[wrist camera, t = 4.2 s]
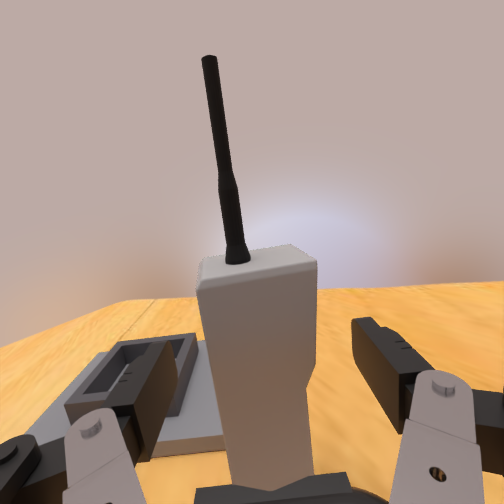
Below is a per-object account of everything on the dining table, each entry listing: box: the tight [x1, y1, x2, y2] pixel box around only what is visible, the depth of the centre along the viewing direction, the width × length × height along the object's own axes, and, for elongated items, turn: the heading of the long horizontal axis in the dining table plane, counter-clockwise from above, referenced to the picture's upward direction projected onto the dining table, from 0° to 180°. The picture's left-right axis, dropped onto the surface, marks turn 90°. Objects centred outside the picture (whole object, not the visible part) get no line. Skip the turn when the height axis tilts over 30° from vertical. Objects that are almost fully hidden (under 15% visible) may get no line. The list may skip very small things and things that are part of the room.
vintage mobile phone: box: [196, 55, 317, 491], centre depth 13 cm, size 4×5×25 cm
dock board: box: [25, 333, 226, 458], centre depth 28 cm, size 18×14×4 cm
